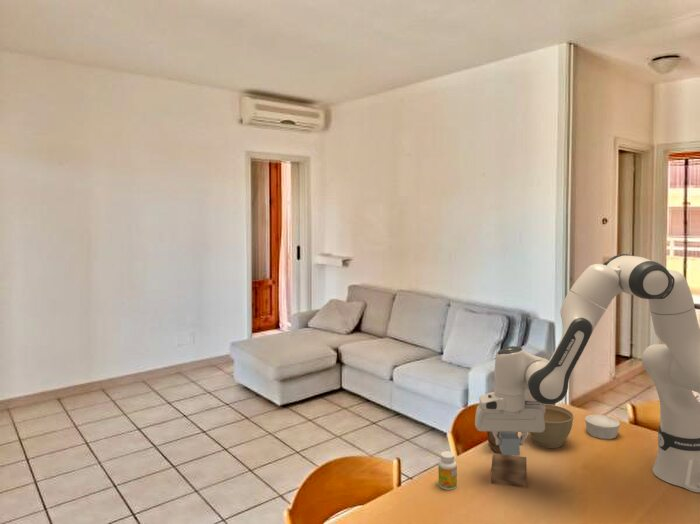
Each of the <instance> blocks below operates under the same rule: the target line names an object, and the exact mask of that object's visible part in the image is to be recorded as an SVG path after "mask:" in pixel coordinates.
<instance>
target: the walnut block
mask: <svg viewBox="0 0 700 524" xmlns="http://www.w3.org/2000/svg"><path fill="white" fill-rule="evenodd" d="M527 462H528V461H527V456H520V455H502V454H499V453H497V452H495V453H494V452H493V453H492V461H491V469H490V470H491V471H490V473H491V475H490V477H491V478H490V479H491V480H490V481H491V482H490V483H491V484H494V485H502V486H508V487H516V488H520V489H521V488H522V489H527V483H528V482H527V480H528V479H527V475H528V474H527V473H528V472H527V470H528V469H527V467H528V466H527V465H528V464H527Z"/></svg>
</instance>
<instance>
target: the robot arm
mask: <svg viewBox="0 0 700 524" xmlns="http://www.w3.org/2000/svg"><path fill="white" fill-rule="evenodd" d="M621 293H625V294H628V295H631V296H635V297H637V298H640V299H644V300H648V306H649V311H650V317H651V320H652V325H653V330H654V334H655V335H656V337H657V338H658V339H659V340H660V341H661V342H663V343H662V344H661V343H654V344H651V345H650V344H649V346H647V347H646V348H645V349H644V351H643V353H642V356H641V364H642V367H643V369H644V370H645V371H646V372H647V374H648V375H649V376H650V378H651V381H652V382H653V384H654V387H655V389H656V392H657V395H658V396H657V397H658V399H659V410H660V411H659V412H660V413H659V414H660V416H659V417H660V419H659V421H660V422H659V423H660V424H659V426H658V431H657V432H658V433H657V445H658V446H657V449H658V450H657V454H656V458H655V461H654V464H653V466H652V469H651V471H652V473H653V474H654V475H655V476H656V477H657V478H659V479H660V480H662V481H663V482H666V483H668V484H671V485H673V486H676V487H677V486H678V487H681V488H684V489H687V491H691V492H693V493H700V401H699V400H698V398H696V396H695V394H694V393H693V392H696V393H698V394H700V326H699V321H698V318H697V312H696V308H695V302H694V299H693V294H692V292H691V288H690V285H689V284H688V282H687V279H686V277H685V275H683V273H681V272H679V271H677V270H673V269H670V270H669V269H668V268H666V267H665V266H664V265H662V263H660V262H657V261H653V260H650V259H649V258H646V257H643V256H637V255H636V256H635V255H631V254H627V253H625V254H624V253H621V254H616V255H614V256H611V257H610V258H608V260H606V261H605V262H604V263H603V264H602V263H594V264H591V265H589V266H588V267H587V268H586V269H585V270H584V271H583V272H582V273H581V274H580V275H579V276H578V277H577V279H576V280H575V282H574V283H573V284H572V286H571V288H570V289H569V290H568V293H567V294H566V295H565V297H564V300H563V301H562V305H561V307H560V312H559V313H560V318H561V322H562V332H561V333H562V334H561V338H560V340H559V342H558V344H557V346H556V347H555V350H554V351H553V353H552V355H551V357H550V359H549V360H548V358H545V357H541V356H537V355H534V354H532V353H530V352H528V351H526V350H525V349H524V348H523V347H521V346H514V345H513V346H506V347H503V348H501V349H500V350H498V351H497V353H496V356H495V361H494V379H495V386H494V390H493V391H494V392H492V391H491V392H488V393H485V394H481V395H479V397H478V398H479V399H478V401H479V404H478V405H477V406H476V409H475V417H474V425H475V428H476V430H477V431H479V432H487V431H492V433H493V435H494V437H495V439H496V445H501V438H500V437H497V434H498V432H518V433H521V435H520V437H519V439H520V447H521V446H524V441H525V440H526V438H527V437H528V433H529V432H539V433H542V432H543V431H544V430H545V421H544V414H545V405H544V404H549V405H555V404H557V403H559V402H561V401H562V400H563V399H564V398H565V396H566V395H567V392H568V390H569V382H570V377H571V376H572V375H571V374H572V373H573V370H574V369H575V367H576V365H577V363H578V362H579V360H580V357H581V356H582V354H583V352H584V350H585V349H586V346H587V345H588V342H589V340H590V338H591V336H592V334H593V333H594V330H595V328H596V327H597V326H598V324H599V322H600V321H601V319H602V317H603V316H604V315H605V312H606V311H607V309H608V308H609V306H610V304H611V303H612V301H613V300H614V299H615V298H616V296H618V295H619V294H621ZM527 390H528V391H529V394H530V395H531V397H532V398H533V399H534V400H526V391H527Z"/></svg>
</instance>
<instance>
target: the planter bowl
mask: <svg viewBox="0 0 700 524" xmlns="http://www.w3.org/2000/svg"><path fill="white" fill-rule="evenodd" d="M544 405H545V414H544V421H545V430H544V431H543V432H542V433H539V432H528V433H529V435H530V436H531V437H532V438H533V442H534V443H535V444H536V445H538V446H541V447H543V448H547V449H558V448H560V447H561V446H562V445H563V444H564V441H565V440H567V438H568V437H569V435H570V433H571V430H572V427H573V420H574V413H573V412H572V411H570V410H569V409H567V408H565V407H563V406H559V405H555V404H544Z"/></svg>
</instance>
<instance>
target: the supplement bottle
mask: <svg viewBox="0 0 700 524" xmlns="http://www.w3.org/2000/svg"><path fill="white" fill-rule="evenodd" d="M456 461H457V460H455V453H454V452H452V451H450V450H449V451H446V450H444V451H442V452H441V453H440V459H439V460H438V462H437V463H438V464H437V465H438V468H437V469H438V486H439V487H440V488H441V489H442V490H447V491H449V490H450V491H451V490H455V489H456V488H457V486H458V478H457V477H458V472H457V471H458V470H457V469H458V464H457V462H456Z"/></svg>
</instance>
